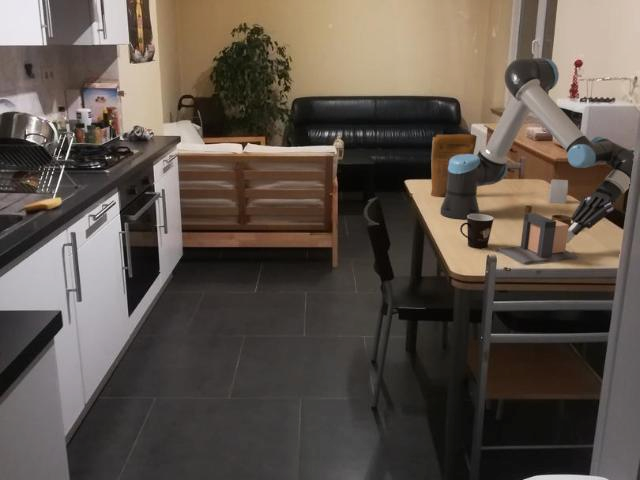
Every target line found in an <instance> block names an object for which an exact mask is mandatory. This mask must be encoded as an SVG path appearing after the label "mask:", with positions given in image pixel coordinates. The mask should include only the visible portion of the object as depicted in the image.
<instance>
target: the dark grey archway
mask: <svg viewBox="0 0 640 480" xmlns="http://www.w3.org/2000/svg"><path fill="white" fill-rule="evenodd" d="M523 215H524V217H523V225H522V232H521V239H520V240H521V243H520V246H521V248H522V249H524V250H525V249H528V241H529V233H530V224H531V223H533V224H535V225H538V226H540V227H541V229H540V236H539V244H538V252H537V256H538V257H540V258H544V257H552V250H553V242H554V235H555V228H556V221H554V220H551V219H552V218H549V217H547V216H543V215H542V214H541V215H540V214H539V213H536V212H533V213H532V212H531V213H528V214H527V213H524V214H523Z"/></svg>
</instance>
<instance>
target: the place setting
mask: <svg viewBox="0 0 640 480" xmlns="http://www.w3.org/2000/svg"><path fill="white" fill-rule="evenodd" d="M532 208H533V206H532V205H528V204H527V205H525V207H524V212H525V214H529V213H532ZM571 217H572V216H568V215H565V214H553V215H551V218H550V219H551V220H557V221H560V222H562V223H565V224H567V225H569V226H570V225H571V224H572V223H573V222H572V219H571ZM581 231H584V229H582V230H581Z"/></svg>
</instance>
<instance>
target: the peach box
mask: <svg viewBox="0 0 640 480" xmlns="http://www.w3.org/2000/svg"><path fill="white" fill-rule="evenodd" d="M554 221H556V228H555V235H554V242H553V250H552V253H558V252H565V250H566V248H567V235H568V228H569V225H567V224H565V223H562V222H560V221H557V220H554ZM540 229H541V227H540V226H538V225H535V224H533V223H531V224H530V233H529V241H528V249H529V250H531V251H533V252H535V253H537V252H538V244H539V236H540Z"/></svg>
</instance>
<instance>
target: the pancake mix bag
mask: <svg viewBox="0 0 640 480" xmlns="http://www.w3.org/2000/svg"><path fill="white" fill-rule="evenodd" d="M477 138H478V136H477V135H475V134H472V133H471V134H467V133H465V134H463V133H458V134H454V133H453V134H436V135H435V136H433V137H432V143H431V156H430V157H431V158H430V160H431V165H430V166H431V167H430V168H431V192H430V195H431V196H432V197H437V198H445V196H446V192H447V178H448V166H449V161H450V159H451V158H452V157H453V156H456V155H461V154H463V155H464V154H473V155H475V154H474V153H475V149H476V145H477V144H476V143H477Z"/></svg>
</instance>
